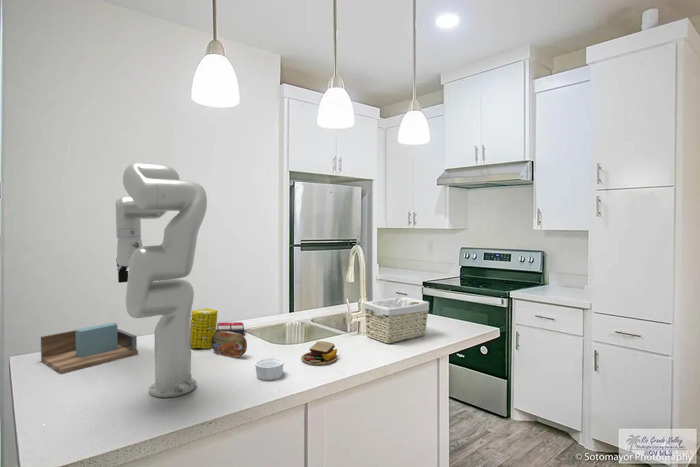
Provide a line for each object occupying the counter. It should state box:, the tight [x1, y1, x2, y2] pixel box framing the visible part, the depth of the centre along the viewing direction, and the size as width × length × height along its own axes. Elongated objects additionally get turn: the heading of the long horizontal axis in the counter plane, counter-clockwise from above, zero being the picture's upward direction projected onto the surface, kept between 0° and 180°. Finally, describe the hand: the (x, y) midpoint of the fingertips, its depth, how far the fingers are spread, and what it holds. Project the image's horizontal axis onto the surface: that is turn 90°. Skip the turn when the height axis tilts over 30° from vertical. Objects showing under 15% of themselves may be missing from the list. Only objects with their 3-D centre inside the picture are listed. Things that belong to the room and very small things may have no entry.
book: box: [75, 322, 118, 358], centre depth 148 cm, size 4×12×9 cm, turn 142°
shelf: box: [40, 322, 139, 375], centre depth 146 cm, size 18×24×8 cm
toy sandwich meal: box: [300, 340, 338, 366], centre depth 147 cm, size 12×14×5 cm
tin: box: [211, 331, 248, 359], centre depth 150 cm, size 15×3×8 cm, turn 62°
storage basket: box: [364, 296, 430, 344], centre depth 175 cm, size 24×16×15 cm
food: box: [190, 307, 218, 350], centre depth 160 cm, size 15×12×10 cm
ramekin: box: [254, 357, 285, 381], centre depth 131 cm, size 9×9×4 cm
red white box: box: [216, 321, 245, 337], centre depth 177 cm, size 11×4×15 cm
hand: (130, 283), depth 146 cm, fingers open, 9 cm apart
